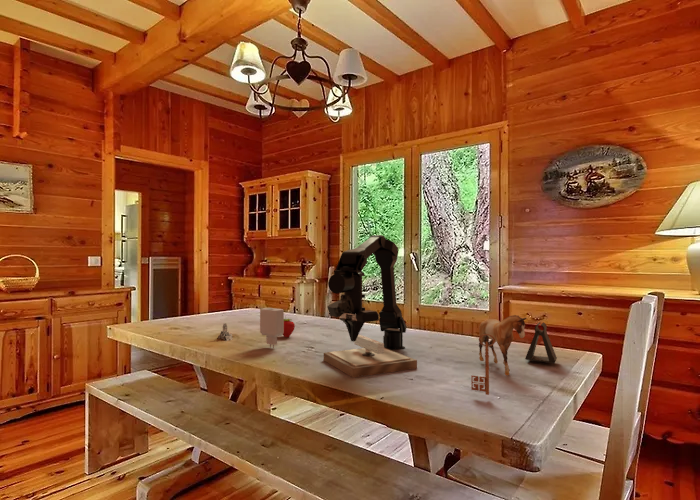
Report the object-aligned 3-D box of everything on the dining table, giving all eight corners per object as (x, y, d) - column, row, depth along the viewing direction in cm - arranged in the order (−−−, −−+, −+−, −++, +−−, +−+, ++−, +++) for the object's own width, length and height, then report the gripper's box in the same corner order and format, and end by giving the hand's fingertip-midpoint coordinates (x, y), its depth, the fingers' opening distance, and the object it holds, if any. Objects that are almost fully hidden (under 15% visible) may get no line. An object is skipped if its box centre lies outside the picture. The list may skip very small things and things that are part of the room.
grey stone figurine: (246, 341, 170) (246, 322, 170) (227, 344, 163) (227, 325, 163) (233, 338, 176) (233, 320, 176) (215, 342, 169) (215, 323, 169)
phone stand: (557, 359, 138) (556, 323, 138) (555, 363, 132) (554, 325, 133) (527, 355, 142) (527, 321, 143) (525, 359, 137) (524, 323, 137)
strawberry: (288, 340, 169) (288, 316, 169) (275, 338, 173) (275, 315, 173) (298, 338, 174) (298, 314, 175) (284, 336, 178) (284, 313, 178)
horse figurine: (528, 378, 116) (528, 316, 116) (506, 379, 115) (505, 317, 116) (489, 356, 142) (489, 306, 142) (471, 356, 141) (470, 306, 142)
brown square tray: (380, 353, 147) (380, 344, 147) (417, 368, 127) (416, 358, 127) (323, 360, 137) (323, 350, 137) (353, 377, 117) (353, 366, 117)
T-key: (354, 348, 139) (354, 335, 139) (359, 348, 140) (359, 334, 140) (378, 359, 124) (378, 344, 124) (383, 358, 125) (383, 343, 125)
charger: (275, 352, 149) (275, 310, 149) (258, 348, 155) (258, 308, 155) (285, 349, 153) (285, 309, 153) (268, 346, 158) (268, 307, 159)
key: (471, 392, 104) (470, 332, 104) (471, 391, 105) (471, 332, 105) (495, 396, 101) (494, 334, 102) (495, 394, 102) (495, 334, 102)
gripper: (315, 290, 132) (315, 339, 131) (349, 294, 117) (349, 350, 116) (344, 288, 138) (344, 335, 138) (380, 292, 123) (380, 345, 123)
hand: (353, 341), depth 129 cm, fingers closed
